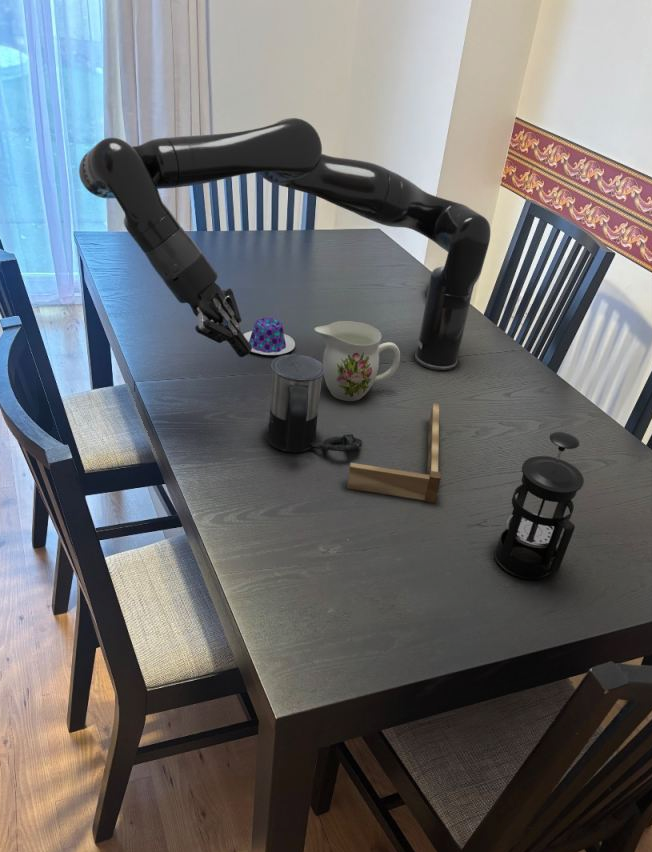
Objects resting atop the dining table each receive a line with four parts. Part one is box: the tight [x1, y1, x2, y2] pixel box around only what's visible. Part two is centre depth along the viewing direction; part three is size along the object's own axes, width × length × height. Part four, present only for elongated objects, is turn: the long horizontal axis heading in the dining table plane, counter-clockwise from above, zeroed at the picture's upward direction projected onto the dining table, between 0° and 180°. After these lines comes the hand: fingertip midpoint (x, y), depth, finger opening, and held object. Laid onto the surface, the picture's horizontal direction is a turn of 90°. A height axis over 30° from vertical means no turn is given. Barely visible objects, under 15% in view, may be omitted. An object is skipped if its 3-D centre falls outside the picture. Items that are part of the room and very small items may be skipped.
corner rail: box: [346, 403, 442, 504], centre depth 141 cm, size 26×15×5 cm, turn 174°
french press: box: [493, 431, 585, 582], centre depth 116 cm, size 12×9×23 cm
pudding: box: [242, 317, 296, 356], centre depth 169 cm, size 12×12×5 cm
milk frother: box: [266, 354, 363, 454], centre depth 138 cm, size 14×16×15 cm
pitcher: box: [313, 320, 401, 402], centre depth 155 cm, size 11×18×14 cm, turn 103°
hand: (246, 353), depth 131 cm, fingers closed
